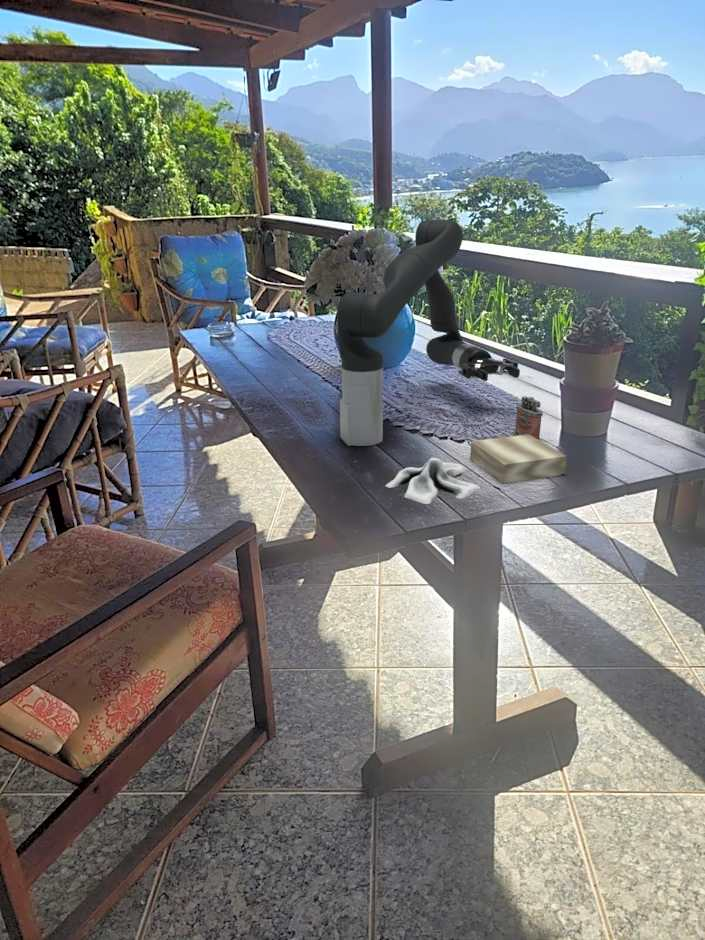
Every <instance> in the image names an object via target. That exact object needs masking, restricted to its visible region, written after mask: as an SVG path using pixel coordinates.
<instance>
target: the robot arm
mask: <svg viewBox="0 0 705 940" xmlns="http://www.w3.org/2000/svg"><path fill="white" fill-rule="evenodd" d="M463 235H464V234H463V229H462V226H461V225H460V223H458V222H457V221H455V220H451V219H447V220H446V219H424V220H422V221H420V222H419V224H418V225H417V227H416V230H415V235H414V237H415V238H414V239H415V242H414V243H415V246H413V247H410V248H408V249H406V250H404V251H402V252H401V253H399V254H398V255H396V257H394V258H393V260H392V261H391V262H389V264H388V265H387V266H386V268H385V270H384V273H383V286H384V290H383V291H382V292H379V293H367V292H366V293H365V292H347V293H344V295H342V296H341V298H340V300H339V302H338V306H337V314H336V320H337V336H338V352H339V357H340V360H341V384H342V386H341V394H342V395H341V396H342V397H341V398H340V399H339V428H340V429H339V431H340V434H339V435H340V437H339V438H340V439H341V440H342V441H343V442H344V443H345V445H346V446H348V447H350V446H356V447H369V446H375V445H378V444H380V443H382V442H383V440H384V439H383V436H384V435H383V434H384V428H383V426H384V425H383V424H384V421H383V420H384V419H383V418H384V417H383V416H384V415H383V414H384V412H383V411H384V357H383V354H382V353H381V352H379V351H378V350H376V349H374V348H373V347H371V346H370V345H368V343H367V342H366V341H365V339H364V338H370V339H376V338H381V337H382V336H384V335H385V334H386V333H387V332H388V331H389V330H390V328H391V327H392V325H393V324H394V323H395V321H396V319H397V318H398V316H399V314H400V313H401V312H402V310H403V309H404V307H406V305H407V304H408V303H409V302H410V300H411V299H412V298H413V297H414V296H415V295H416V294H417V293H418V292H419V291H420V290H421V289H422V287H424V286H425V289H426V294H427V299H428V309H429V320H430V322H429V323H430V326H431V329H432V330H433V331H434V332H437V333H446V334H443V335H440V336H437V337H433V338H432V339H430V340H429V341H428V342H427V344H426V348H425V349H426V354H427V356H428V358H429V359H430V361H432V362H433V363H435V364H438V365H443V366H452V367H454V368H456V369H457V370H458V372H457V373H458V374H459V375H461V376H462V377H464V378H466V379H468V380H469V379H471V378H474V379H479V380H481V381H482V382H487V381H488V380H489V379H488V377H489V375H490V376H491V375H497V376H502V375H509V376H511V377H513V378H515V379H516V378H517V379H518V378H519V377H520V373H521V370H520V369H521V368H519V363H518V362H517V361H513V360H510V359H508V358H503V359H502V360H499V359H494V358H493V357H492V355H491V354H490V352H489V351H487V350H485V349H482V348H480V347H478V346H476V345H474V344H469V343H467V342H464V340H463V338H462V335H461V333H460V330H459V328H458V327H459V326H458V322H457V319H456V316H457V315H456V305H455V298H454V296H453V293H452V291H451V289H450V288H449V286H448V285H447V283H446V282H445V280H444V279H443V277H442V274H441V273H440V271H439V269H441V268H442V267H443V266H444V265H445V264H447V263H448V262H449V261H451V260H452V259H453V258H454V257H455V256H456V255H457V254H458V253H459V250H460V249H461V246H462V243H463V238H464V237H463ZM498 370H499V371H498Z"/></svg>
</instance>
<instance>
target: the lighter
mask: <svg viewBox="0 0 705 940" xmlns="http://www.w3.org/2000/svg"><path fill="white" fill-rule="evenodd" d="M541 404H542V403H541V401H540V400H539V401H538V400H536V399H535V398H534V397H533V396H526V395H523V396H521V403H518V404H516V406H515V407H516V417H515V418H516V419H515V429H514V432H513V436H520V435H528V434H529V435H531V436H533V437H535V438H536V439H538V440H540V441H541V439H540V435H541V423H542V417H543V414H544V412H543V411H542V410H541V409H539V408H541Z"/></svg>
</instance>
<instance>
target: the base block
mask: <svg viewBox="0 0 705 940" xmlns="http://www.w3.org/2000/svg"><path fill="white" fill-rule="evenodd" d="M469 454H470V455H469V460H471V461H472V462H473V463H475V464H476V465H477V466H479V467H480V468H481V469H483V470H484V471H485V472H486V473H488V474H489V475H490V476H492V477H493V478H494V479H496V480H497V481H498V482H500V483H501V484H509V483H515V482H523V481H529V480H535V479H543V478H551V477H558V476H562V475H561V474H564V475H565V472H566V465H567V464H566V463H567V455H565V453H562V452H560V451H559V450H557V449H555V448H553V447H552V446H550V445H549V444H546V443H544V442H543V441H541V439H540V440H538V439H536V438H535V437H533V436H531V435H529V434H528V435H520V436H514V435H511V436H505V437H496V438H489V439H479V440H472V441H470V453H469ZM557 475H558V476H557Z"/></svg>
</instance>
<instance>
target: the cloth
mask: <svg viewBox="0 0 705 940" xmlns="http://www.w3.org/2000/svg"><path fill="white" fill-rule="evenodd" d="M466 470H467V467H465V466H463V465H462V464H460V463H454V462H444V461H443V462H442V460H441V459H439V458H436V457H430V458H429V460H428V461H426V462H425V464H424V465H423V466H421V467H413V466H411V467H405V468H404V469H402V470H399V471H398V472H397V474H396V476H395V478H394V479H393V480H390V481H389V482H388V483H386V485H385V487H387V488H390V489H391V488H396V487H397V488H398V487H400V486H401V485H402V484H403V483H405V482H408V485H407V486H408V487H407V490H406V492H405V494H404V498H405V499H408V500H410V501H413V502H417V503H420V504H423V505H428V504H431V502H432V501H433V500H434V499H435V498H437V496H438V495H439V490H440V489H439V488H442V489H445V490H448V491H450V492H451V493H453V494H455V498H456V499H466V498H468V497H470V496H471V495H472V494H474V493H476V492H478V491H479V490H480V489H481V487H480V486H479V485H477V484H474V483H471V482H467V481H463V480H460V479H457V478H456V477H457V476H459V475H462V474H463V473H464V472H465V471H466Z"/></svg>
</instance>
